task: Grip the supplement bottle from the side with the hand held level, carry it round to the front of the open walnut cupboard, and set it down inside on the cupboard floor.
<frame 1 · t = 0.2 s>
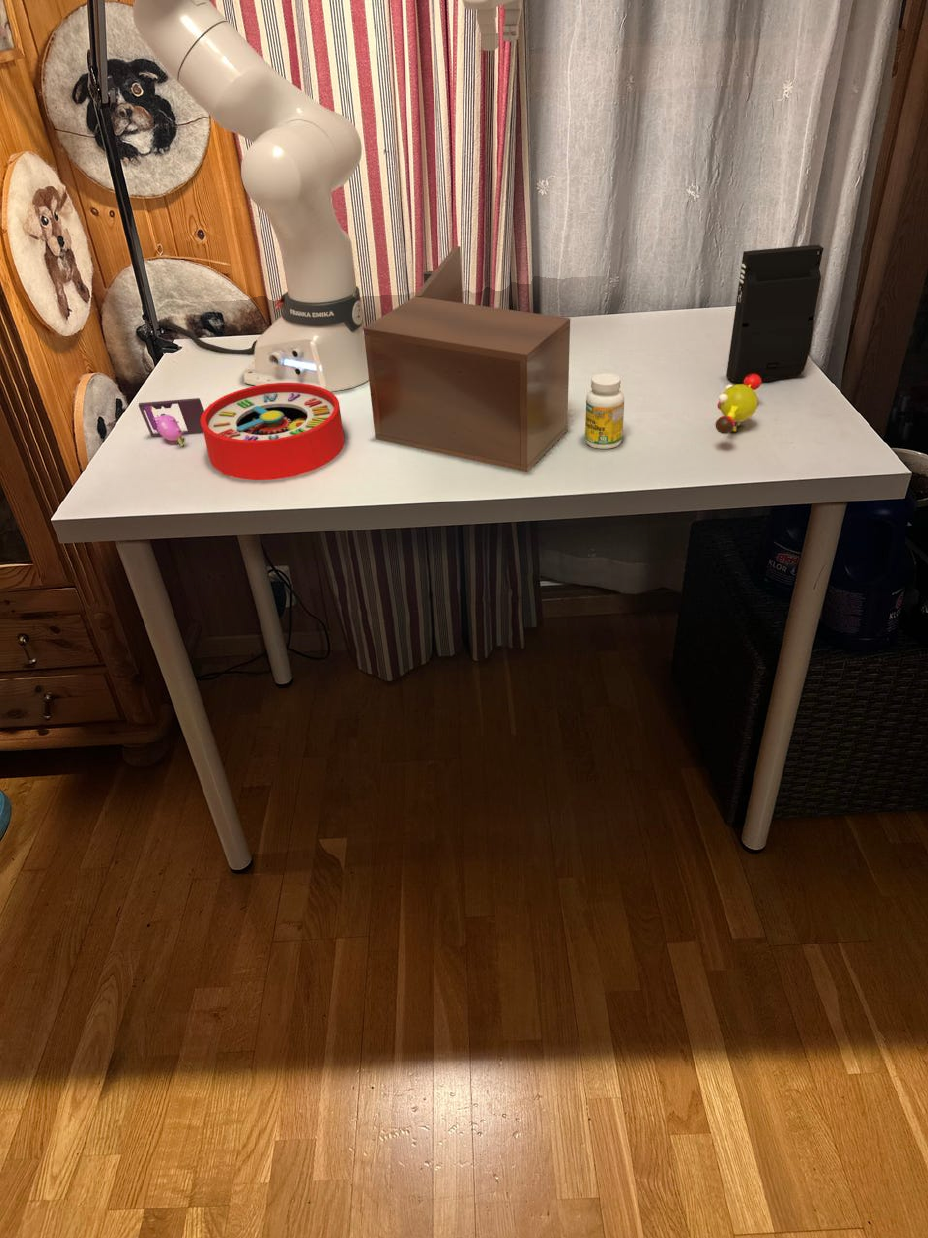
hand: (500, 45, 120), 48 cm above the table, tool pointing down, fingers open, 8 cm apart
cabinet: (471, 435, 138), on the table
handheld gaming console: (764, 380, 149), on the table
supplement bottle: (602, 442, 134), on the table
toy clock: (277, 448, 137), on the table
pink toy with backboard: (179, 441, 141), on the table
cabinet door: (426, 320, 153), point 8 cm above the table, hinge at 105.0°
toy figure: (733, 430, 136), on the table
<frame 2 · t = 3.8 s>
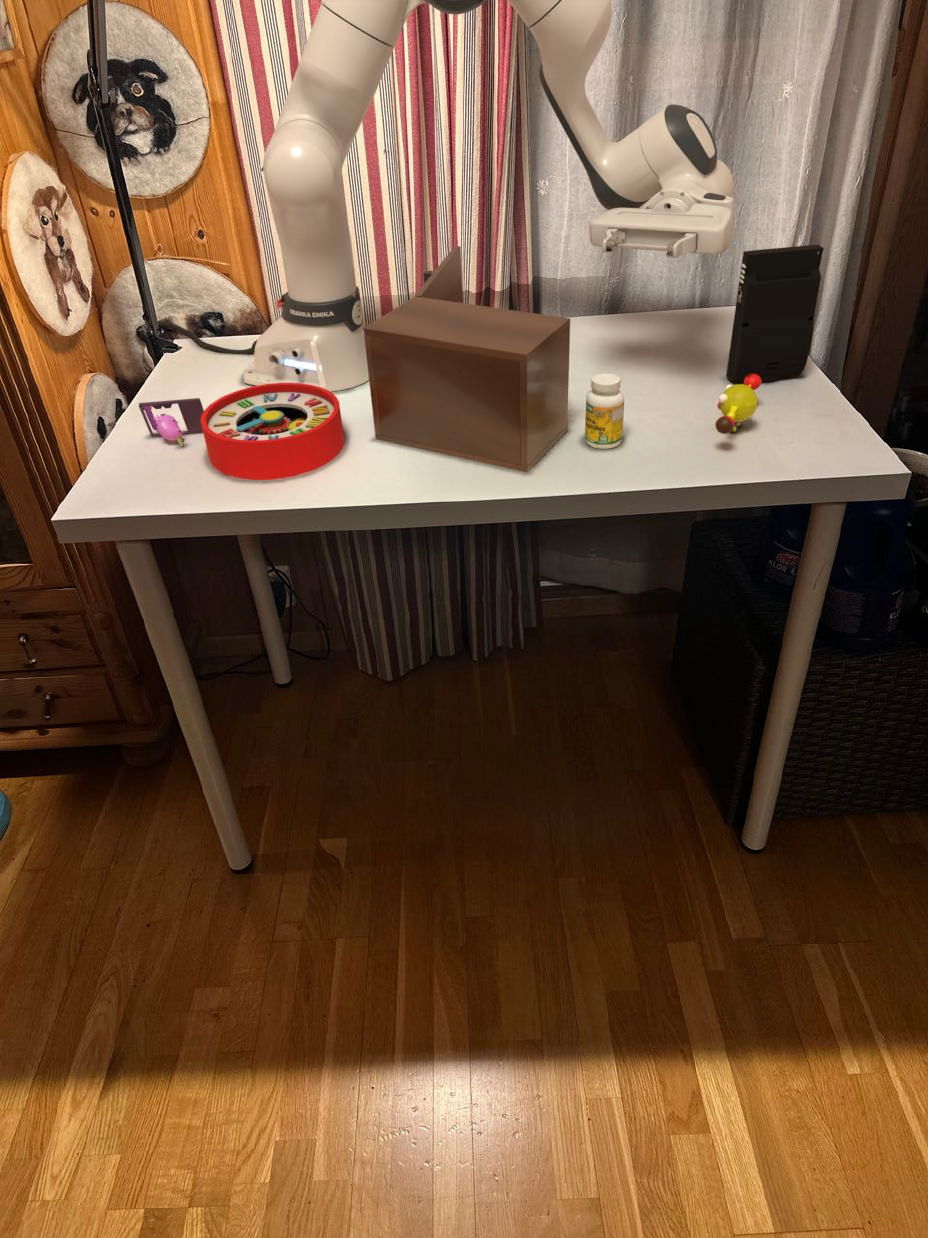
hand: (638, 249, 128), 24 cm above the table, tool horizontal, fingers open, 8 cm apart
nothing on the table moved.
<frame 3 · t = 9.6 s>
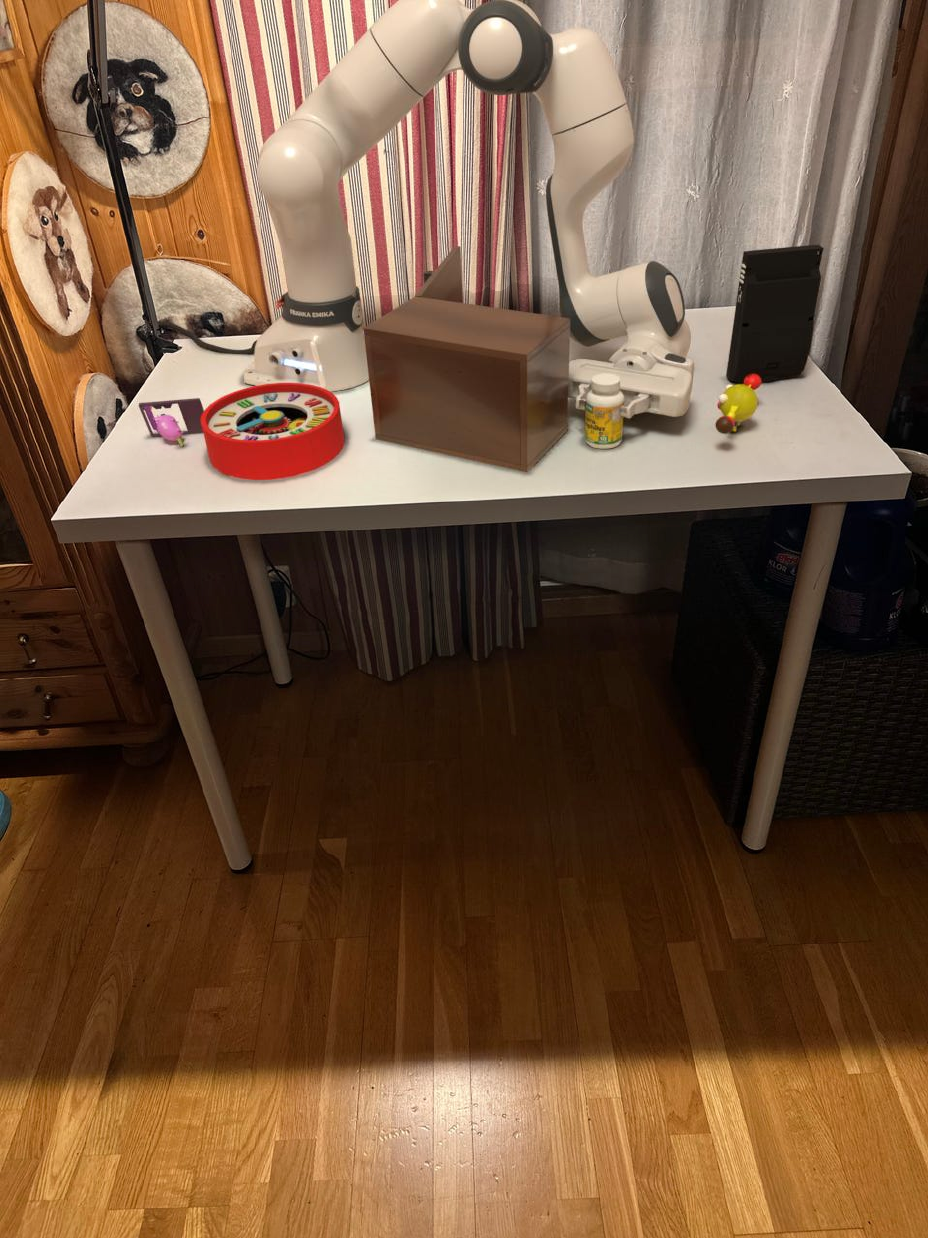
hand: (602, 408, 130), 6 cm above the table, tool horizontal, fingers closed on supplement bottle, 5 cm apart
supplement bottle: (602, 442, 134), on the table, touching gripper
everything else where it was.
when the fingers open (7 cm above the table, at t = 22.3 s): supplement bottle stays where it is, resting on cabinet.
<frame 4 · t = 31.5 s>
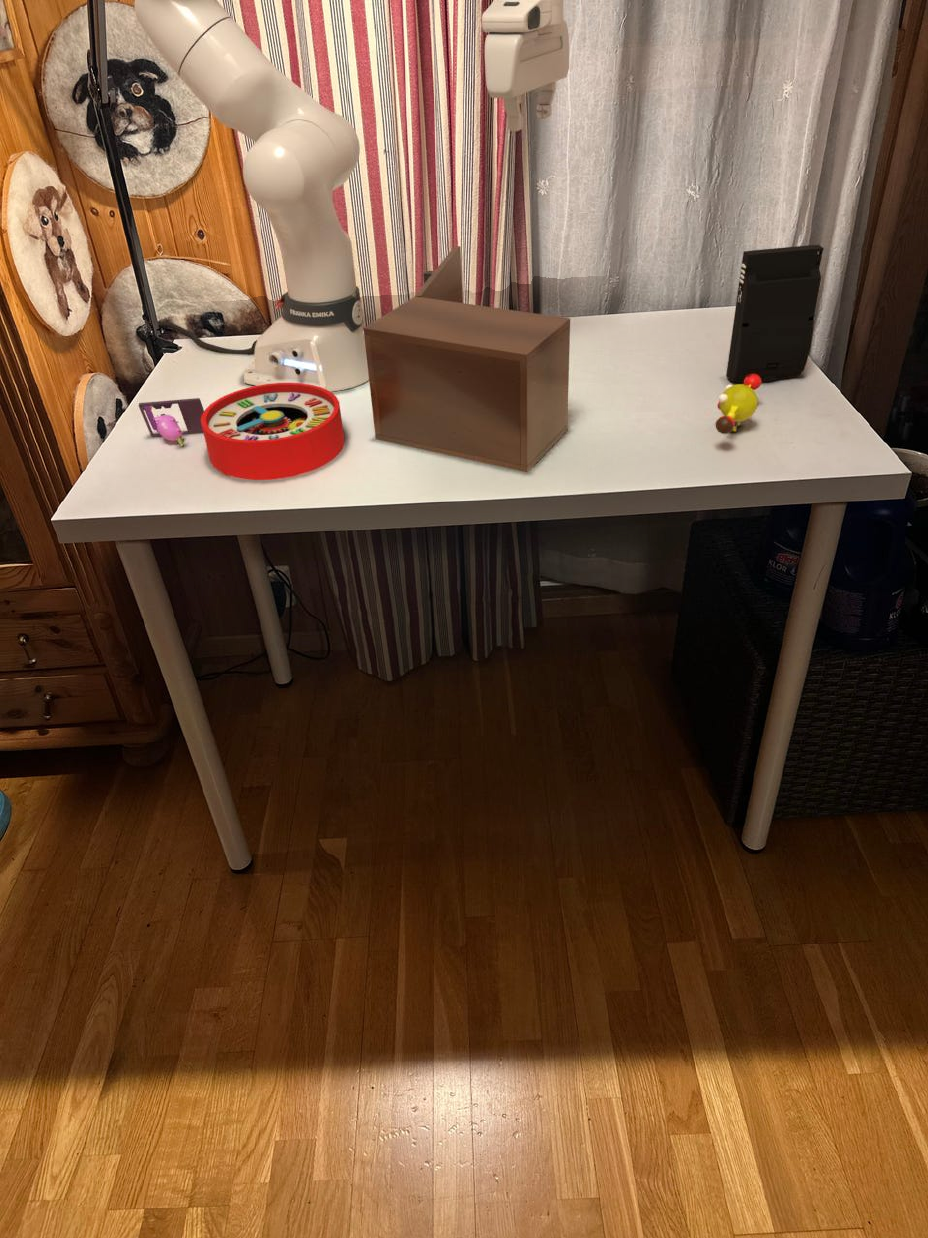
hand: (530, 123, 134), 37 cm above the table, tool pointing down, fingers open, 8 cm apart
supplement bottle: (482, 420, 139), point 1 cm above the table, touching cabinet
everything else where it was.
at the end: supplement bottle inside the target area in the cabinet (3.3 cm from its centre), point 0.8 cm above the cabinet's base; supplement bottle tilted 0°; the gripper is holding nothing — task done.
